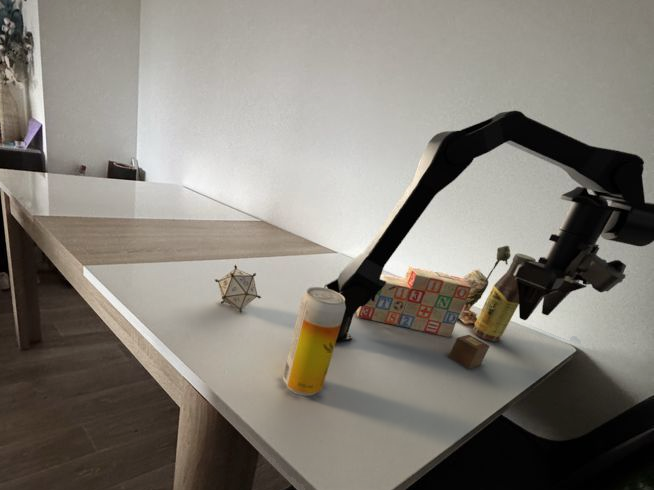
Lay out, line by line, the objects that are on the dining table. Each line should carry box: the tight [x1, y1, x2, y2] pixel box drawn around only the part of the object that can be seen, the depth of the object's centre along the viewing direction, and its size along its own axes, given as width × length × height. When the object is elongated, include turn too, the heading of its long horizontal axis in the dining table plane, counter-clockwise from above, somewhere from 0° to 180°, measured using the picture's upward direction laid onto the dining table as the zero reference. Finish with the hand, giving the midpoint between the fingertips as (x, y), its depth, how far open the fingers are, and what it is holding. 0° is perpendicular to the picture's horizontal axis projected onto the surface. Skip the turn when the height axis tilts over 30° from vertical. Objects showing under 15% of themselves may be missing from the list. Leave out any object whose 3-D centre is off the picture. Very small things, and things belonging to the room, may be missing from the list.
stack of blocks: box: [355, 266, 472, 338], centre depth 87 cm, size 21×6×12 cm, turn 86°
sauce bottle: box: [472, 252, 537, 342], centre depth 88 cm, size 6×6×20 cm
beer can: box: [282, 286, 346, 397], centre depth 56 cm, size 6×6×15 cm
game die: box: [214, 264, 262, 314], centre depth 78 cm, size 9×8×10 cm
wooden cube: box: [448, 334, 491, 370], centre depth 77 cm, size 4×4×5 cm
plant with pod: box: [458, 245, 512, 325], centre depth 96 cm, size 8×11×20 cm
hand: (534, 316), depth 72 cm, fingers open, 9 cm apart
